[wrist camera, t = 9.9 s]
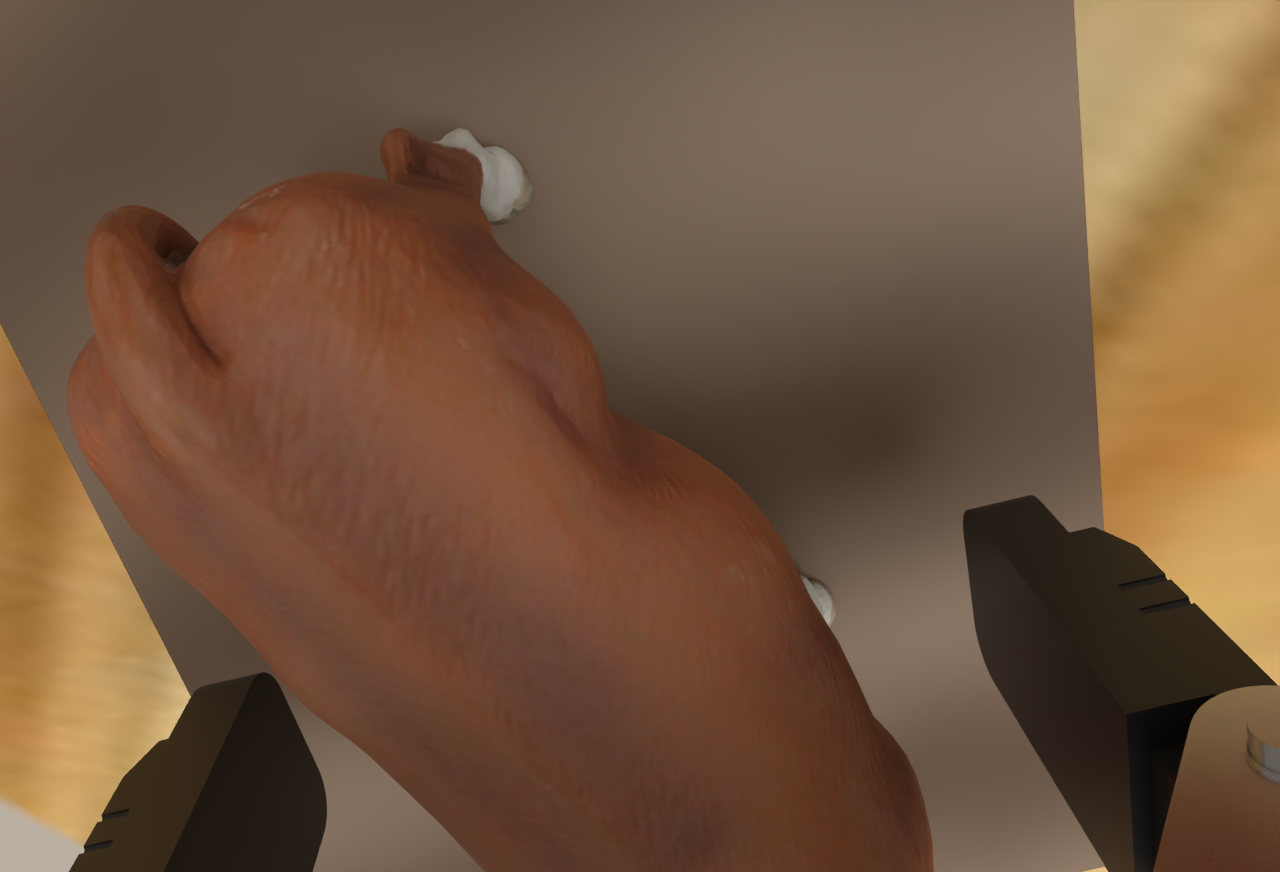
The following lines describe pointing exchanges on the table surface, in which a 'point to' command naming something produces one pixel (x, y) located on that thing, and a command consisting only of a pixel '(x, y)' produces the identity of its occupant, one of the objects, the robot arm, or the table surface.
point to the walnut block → (656, 291)
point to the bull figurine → (475, 534)
